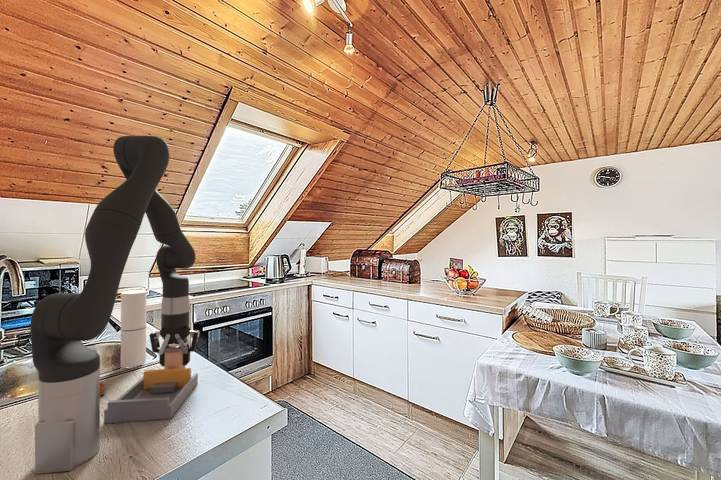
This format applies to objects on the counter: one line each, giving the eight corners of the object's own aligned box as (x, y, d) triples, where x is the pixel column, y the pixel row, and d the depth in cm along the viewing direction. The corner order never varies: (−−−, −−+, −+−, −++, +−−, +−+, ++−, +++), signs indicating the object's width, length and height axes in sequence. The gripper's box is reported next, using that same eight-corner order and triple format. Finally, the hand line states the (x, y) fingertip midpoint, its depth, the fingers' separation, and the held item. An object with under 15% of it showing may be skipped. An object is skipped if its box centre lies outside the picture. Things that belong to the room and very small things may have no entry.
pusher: (185, 391, 92) (185, 374, 92) (137, 394, 90) (138, 376, 90) (191, 384, 96) (191, 368, 96) (145, 387, 94) (145, 370, 94)
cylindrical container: (132, 369, 107) (133, 294, 106) (115, 367, 108) (115, 293, 108) (150, 361, 114) (151, 290, 113) (134, 359, 115) (134, 289, 115)
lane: (170, 419, 79) (171, 399, 79) (104, 423, 77) (104, 402, 77) (197, 383, 98) (197, 367, 98) (144, 386, 96) (144, 369, 96)
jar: (181, 376, 97) (181, 349, 97) (160, 376, 96) (160, 350, 96) (188, 368, 103) (188, 343, 103) (168, 368, 102) (169, 343, 102)
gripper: (143, 313, 94) (143, 371, 95) (196, 313, 97) (195, 369, 97) (156, 308, 102) (155, 361, 102) (204, 307, 104) (203, 359, 104)
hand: (175, 364), depth 99 cm, fingers closed on jar, 5 cm apart
